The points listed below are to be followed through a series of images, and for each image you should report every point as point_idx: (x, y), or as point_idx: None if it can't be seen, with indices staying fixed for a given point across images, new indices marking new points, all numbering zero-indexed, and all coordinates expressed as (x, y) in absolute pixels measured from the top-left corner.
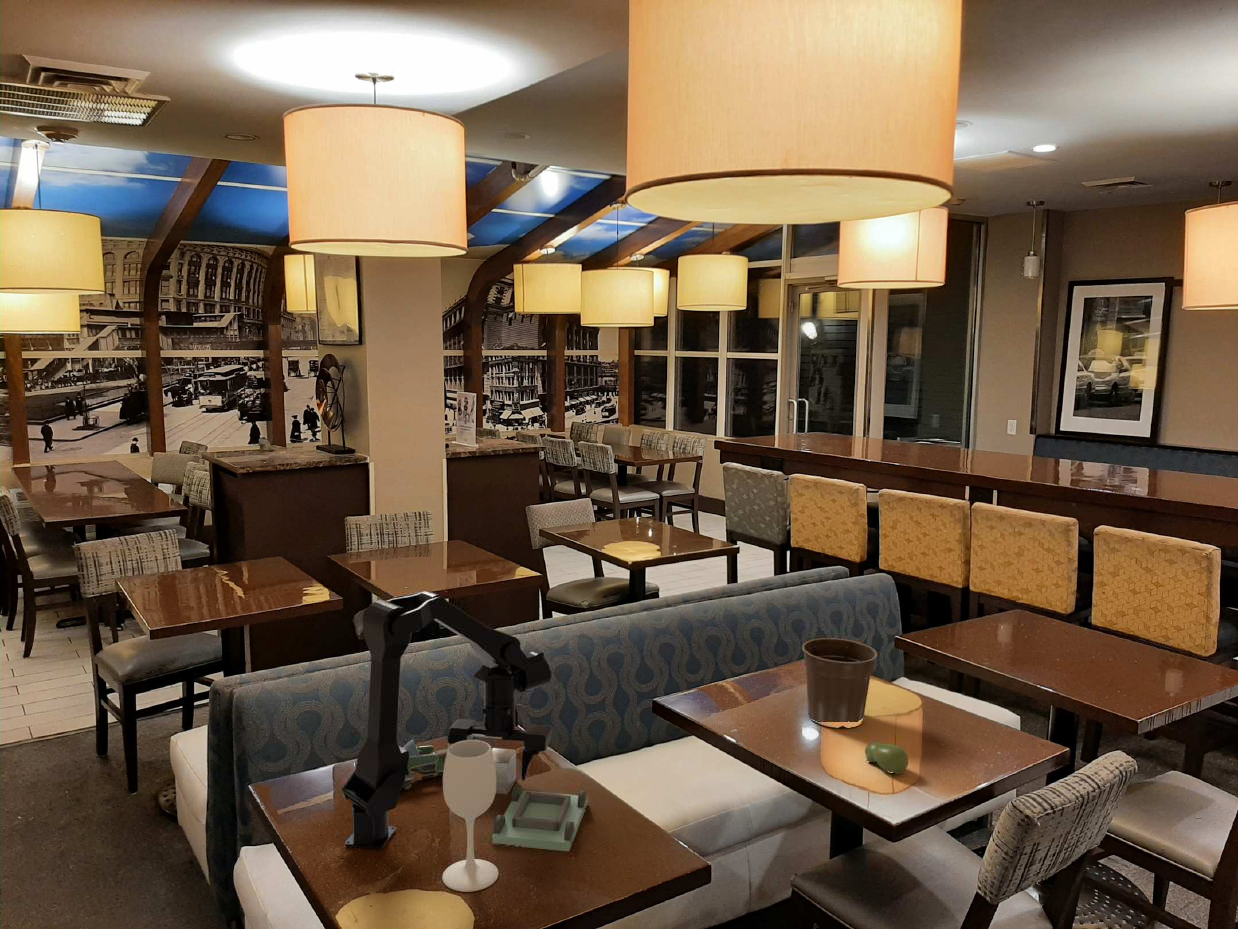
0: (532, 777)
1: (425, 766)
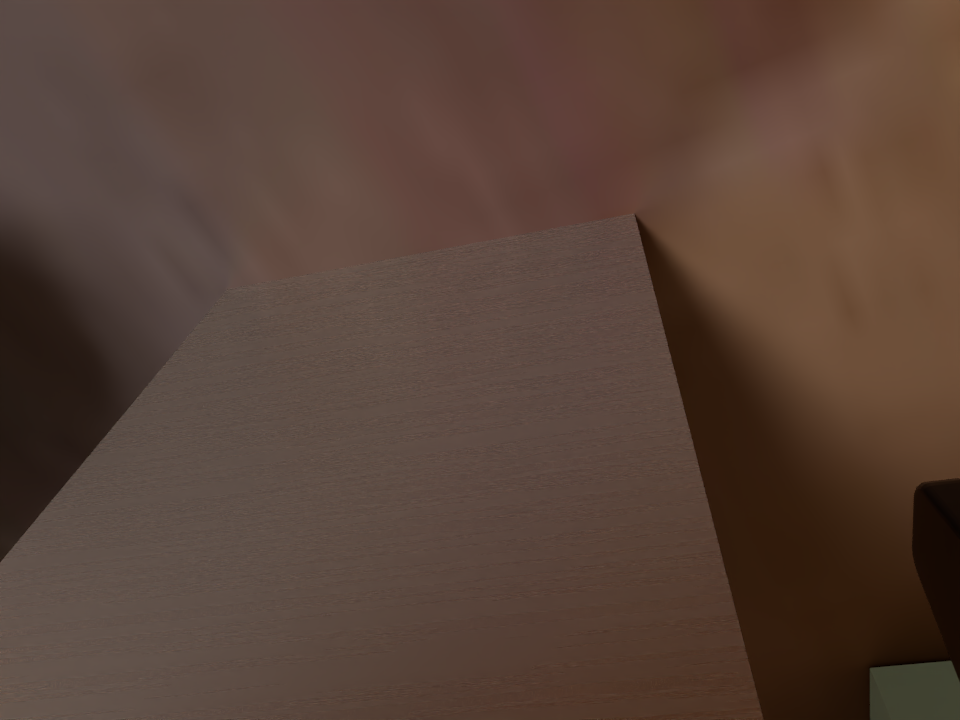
0: (942, 5)
1: None
